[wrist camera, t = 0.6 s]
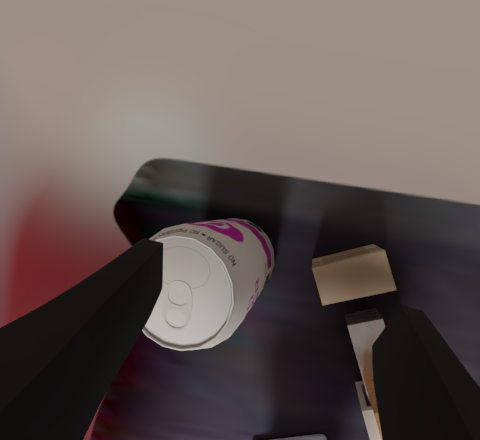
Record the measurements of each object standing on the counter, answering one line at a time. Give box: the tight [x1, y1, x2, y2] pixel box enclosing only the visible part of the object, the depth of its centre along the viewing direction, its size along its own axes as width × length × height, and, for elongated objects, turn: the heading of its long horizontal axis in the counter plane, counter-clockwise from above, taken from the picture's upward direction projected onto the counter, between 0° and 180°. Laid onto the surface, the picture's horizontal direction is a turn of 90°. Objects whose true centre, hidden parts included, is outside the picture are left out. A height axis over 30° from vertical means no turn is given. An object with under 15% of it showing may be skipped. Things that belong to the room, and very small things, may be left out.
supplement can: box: [142, 218, 274, 351], centre depth 26 cm, size 8×8×15 cm
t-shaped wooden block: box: [344, 308, 385, 440], centre depth 26 cm, size 15×3×8 cm, turn 16°
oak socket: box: [312, 244, 396, 305], centre depth 29 cm, size 3×6×5 cm, turn 107°
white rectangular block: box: [355, 381, 382, 440], centre depth 28 cm, size 7×5×5 cm, turn 16°
